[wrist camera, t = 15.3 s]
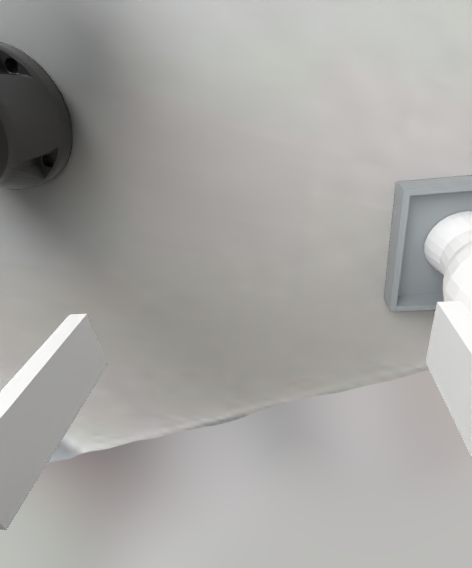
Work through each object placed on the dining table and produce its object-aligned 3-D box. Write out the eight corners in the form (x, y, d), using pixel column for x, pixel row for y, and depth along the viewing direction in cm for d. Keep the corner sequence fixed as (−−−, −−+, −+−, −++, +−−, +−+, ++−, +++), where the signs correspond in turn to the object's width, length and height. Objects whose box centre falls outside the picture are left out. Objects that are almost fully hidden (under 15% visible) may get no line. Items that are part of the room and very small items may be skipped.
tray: (383, 297, 47) (389, 311, 44) (395, 181, 39) (403, 189, 37) (513, 293, 44) (527, 307, 42) (552, 167, 37) (573, 175, 34)
